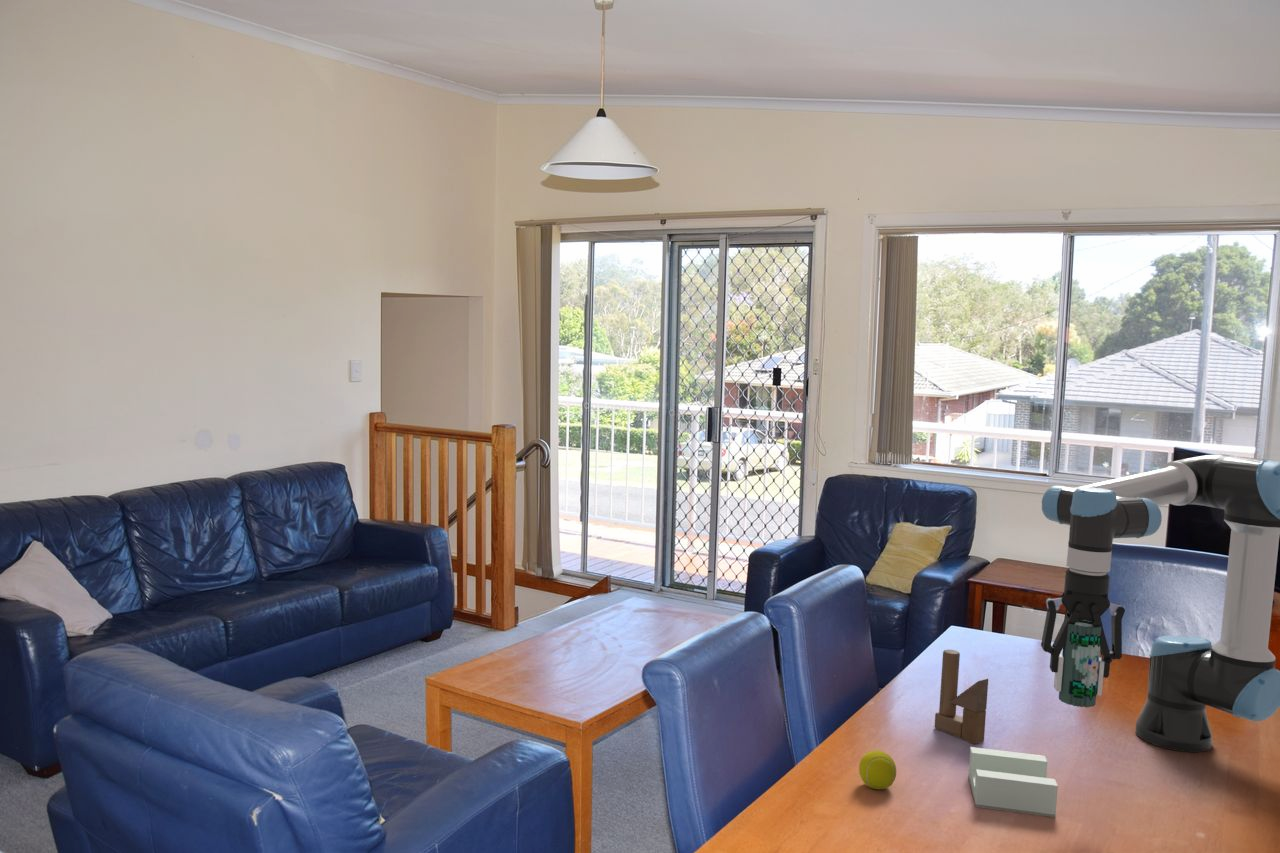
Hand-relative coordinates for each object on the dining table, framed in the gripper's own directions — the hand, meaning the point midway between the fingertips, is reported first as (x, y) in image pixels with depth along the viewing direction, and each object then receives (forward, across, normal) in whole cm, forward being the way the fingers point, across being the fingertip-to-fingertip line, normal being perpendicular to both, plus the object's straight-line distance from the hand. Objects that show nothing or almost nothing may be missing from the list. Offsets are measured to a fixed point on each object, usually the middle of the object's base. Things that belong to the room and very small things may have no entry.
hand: (1077, 691), depth 190 cm
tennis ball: (+22, +36, +4) cm, 42 cm away
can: (+2, 0, 0) cm, 2 cm away
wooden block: (+22, +17, -29) cm, 40 cm away
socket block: (+22, +10, 0) cm, 24 cm away
